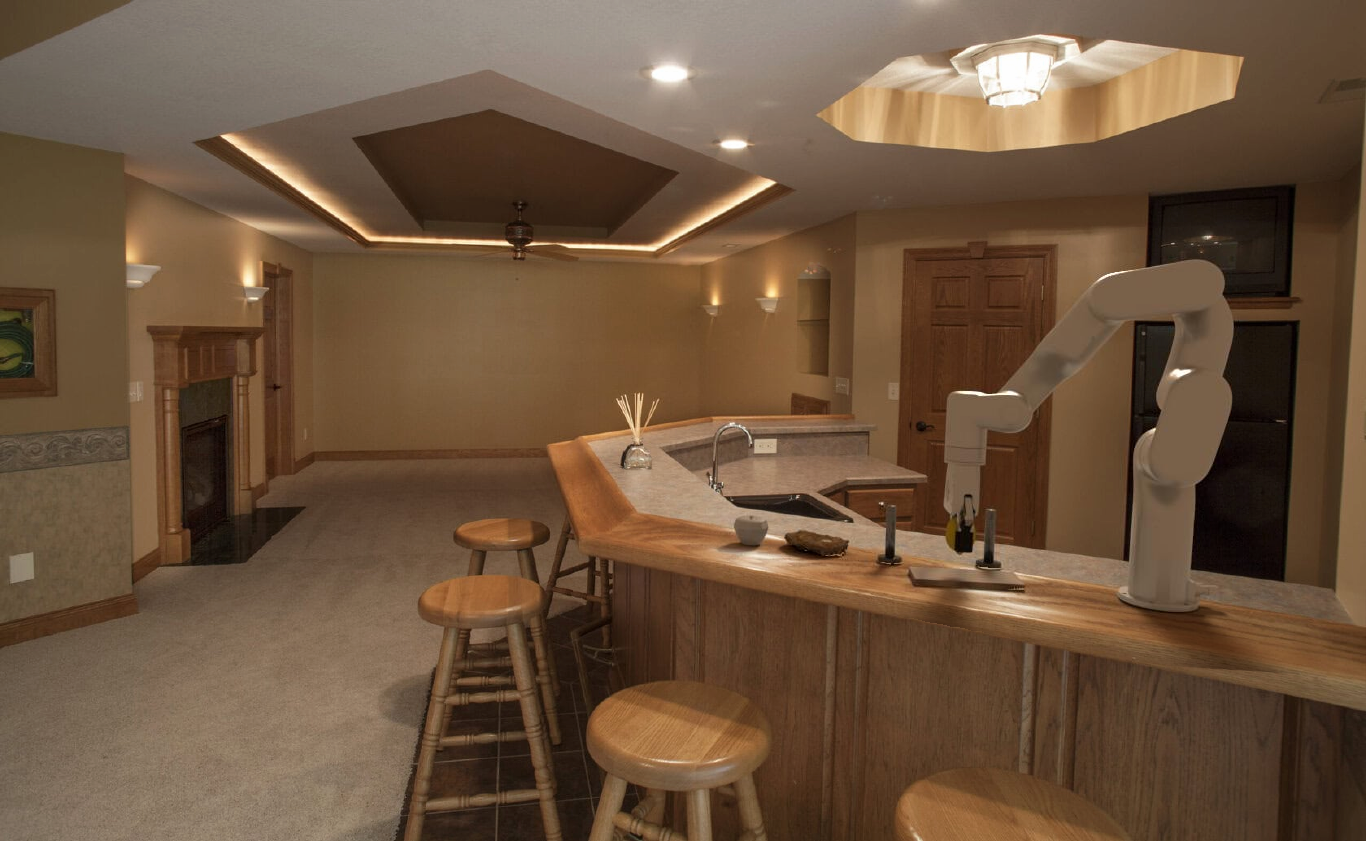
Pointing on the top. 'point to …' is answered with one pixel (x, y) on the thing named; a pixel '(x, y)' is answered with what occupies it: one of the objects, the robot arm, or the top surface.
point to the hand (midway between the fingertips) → (960, 547)
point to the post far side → (890, 537)
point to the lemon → (951, 533)
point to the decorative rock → (817, 542)
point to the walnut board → (965, 578)
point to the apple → (751, 529)
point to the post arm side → (989, 542)
